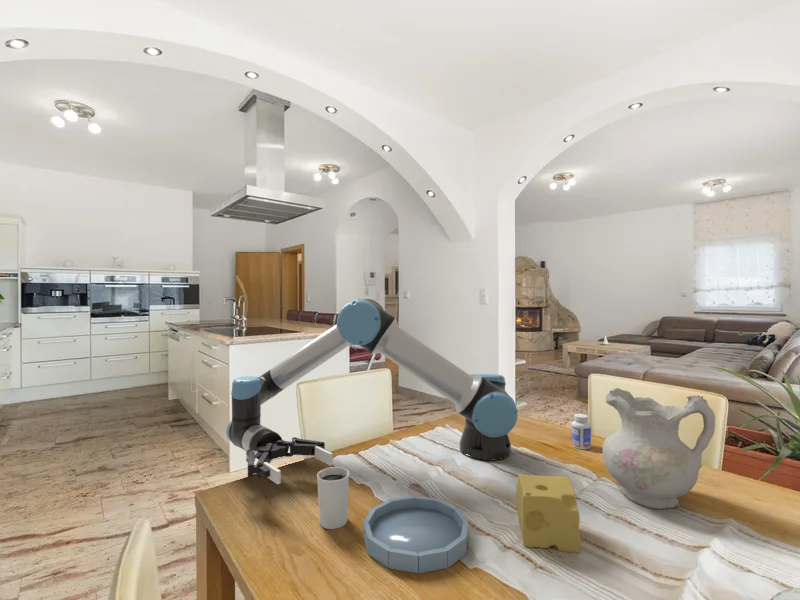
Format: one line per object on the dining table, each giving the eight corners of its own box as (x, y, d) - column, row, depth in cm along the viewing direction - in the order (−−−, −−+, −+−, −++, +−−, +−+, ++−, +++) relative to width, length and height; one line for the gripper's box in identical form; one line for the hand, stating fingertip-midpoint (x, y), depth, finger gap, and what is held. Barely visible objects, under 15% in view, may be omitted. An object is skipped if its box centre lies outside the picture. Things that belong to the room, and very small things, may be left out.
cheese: (581, 555, 74) (581, 500, 74) (520, 547, 77) (520, 495, 76) (569, 523, 85) (569, 475, 84) (515, 517, 87) (515, 471, 87)
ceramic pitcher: (692, 489, 101) (689, 387, 102) (733, 527, 82) (728, 401, 83) (596, 479, 106) (594, 383, 108) (614, 513, 88) (611, 395, 89)
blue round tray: (445, 504, 92) (445, 491, 92) (486, 560, 73) (486, 543, 73) (357, 517, 87) (357, 503, 87) (376, 581, 68) (376, 563, 68)
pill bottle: (589, 444, 128) (589, 413, 128) (591, 450, 123) (591, 418, 123) (571, 442, 130) (571, 412, 129) (572, 448, 124) (572, 417, 124)
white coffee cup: (338, 509, 90) (338, 464, 90) (355, 521, 85) (355, 474, 85) (311, 520, 86) (311, 473, 86) (328, 534, 81) (327, 484, 81)
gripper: (304, 444, 116) (350, 467, 101) (213, 471, 99) (253, 504, 84) (304, 418, 116) (350, 437, 101) (213, 441, 99) (253, 468, 84)
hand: (306, 468), depth 92 cm, fingers open, 13 cm apart
